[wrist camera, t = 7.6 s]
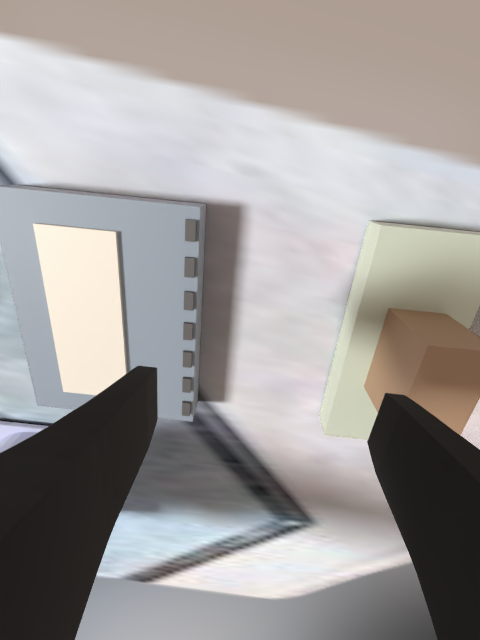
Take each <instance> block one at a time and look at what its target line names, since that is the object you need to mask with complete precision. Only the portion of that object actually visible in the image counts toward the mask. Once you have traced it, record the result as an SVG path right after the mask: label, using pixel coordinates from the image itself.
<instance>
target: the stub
mask: <svg viewBox="0 0 480 640" xmlns="http://www.w3.org/2000/svg"><path fill="white" fill-rule="evenodd" d="M479 307H480V232H474V231H464V230H454V229H444V228H434V227H425V226H415V225H405V224H395V223H385V222H375V221H368V225H367V229H366V233H365V237H364V240H363V244H362V248H361V252H360V256H359V260H358V264H357V268H356V272H355V276H354V280H353V284H352V288H351V292H350V295H349V299H348V303H347V307H346V311H345V315H344V319H343V323H342V327H341V331H340V335H339V339H338V343H337V347H336V351H335V354H334V358H333V362H332V366H331V370H330V374H329V378H328V382H327V386H326V390H325V394H324V398H323V402H322V406H321V409H320V413H319V418H320V421H321V425H322V429H323V432H324V435H327V436H337V437H347V438H356V439H366V440H368V438H369V436H370V433H371V430H372V428H373V425H374V422H375V419H376V417H377V414H378V411H379V409H380V406H381V403H382V400H383V398H384V395H385V393H391V394H400V395H405V396H407V397H409V398H410V399H412V400H413V401H415V402H416V403H417V404H419V405H420V406H422V407H423V408H424V409H426V410H427V411H428V412H430V413H431V414H432V415H434V416H435V417H436V418H438V419H439V420H440V421H442V422H443V423H444V424H446V425H447V426H448V427H450V428H451V429H452V430H454V431H455V432H456V433H458V434H459V435H461V433H462V431H463V429H464V427H465V425H466V423H467V421H468V419H469V417H470V415H471V414H472V412H473V410H474V408H475V406H476V404H477V402H478V400H479V398H480V337H479V336H477V335H476V334H475V333H473V332H472V331H470V330H469V329H470V327H471V324H472V322H473V320H474V318H475V316H476V313H477V311H478V309H479Z"/></svg>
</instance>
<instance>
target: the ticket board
mask: <svg viewBox="0 0 480 640" xmlns="http://www.w3.org/2000/svg"><path fill="white" fill-rule="evenodd" d="M205 225H206V204H201V203H191V202H181V201H171V200H162V199H152V198H142V197H132V196H122V195H112V194H102V193H93V192H83V191H73V190H63V189H53V188H43V187H33V186H23V185H0V244H1V248H2V253H3V257H4V262H5V266H6V270H7V275H8V279H9V283H10V288H11V292H12V297H13V301H14V305H15V310H16V314H17V318H18V323H19V327H20V332H21V336H22V340H23V345H24V349H25V353H26V358H27V362H28V367H29V371H30V375H31V380H32V384H33V388H34V393H35V397H36V402H37V406H46V407H55V408H65V409H77V408H78V407H80V406H82V405H83V404H85V403H86V402H88V401H89V400H91V399H92V398H93V397H95V396H96V395H98V394H99V393H101V392H102V391H103V390H105V389H106V388H108V387H109V386H110V385H112V384H113V383H114V382H116V381H117V380H119V379H120V378H121V377H123V376H124V375H125V374H127V373H128V372H129V371H131V370H132V369H134V368H135V367H137V366H147V367H156V368H157V403H158V418H162V419H172V420H182V421H191V422H193V418H194V414H195V410H196V406H197V402H198V385H199V362H200V339H201V316H202V293H203V271H204V248H205Z"/></svg>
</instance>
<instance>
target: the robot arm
mask: <svg viewBox="0 0 480 640" xmlns="http://www.w3.org/2000/svg"><path fill="white" fill-rule="evenodd" d="M157 419H158V403H157V368H156V367H147V366H137V367H135V368H134V369H132V370H131V371H129V372H128V373H127V374H125V375H124V376H123V377H121V378H120V379H119V380H117V381H116V382H114V383H113V384H112V385H110V386H109V387H108V388H106V389H105V390H103V391H102V392H101V393H99V394H98V395H96V396H95V397H93V398H92V399H91V400H89V401H88V402H86V403H85V404H83V405H82V406H80V407H78V408H77V409H75V410H74V411H72V412H71V413H69V414H68V415H66V416H64V417H63V418H61V419H60V420H58V421H57V422H55V423H54V424H52V425H50V426H44V425H34V424H24V423H15V422H5V421H0V640H75V637H76V634H77V631H78V628H79V624H80V622H81V619H82V615H83V612H84V610H85V607H86V603H87V601H88V597H89V595H90V592H91V589H92V586H93V583H94V579H95V577H96V574H97V571H98V568H99V565H100V563H101V560H102V557H103V554H104V551H105V548H106V545H107V542H108V540H109V537H110V535H111V532H112V530H113V527H114V525H115V522H116V520H117V518H118V516H119V513H120V511H121V509H122V507H123V504H124V502H125V500H126V498H127V495H128V493H129V491H130V489H131V487H132V484H133V482H134V480H135V478H136V475H137V473H138V471H139V469H140V466H141V464H142V462H143V460H144V457H145V455H146V453H147V450H148V448H149V445H150V442H151V439H152V436H153V432H154V429H155V426H156V422H157ZM367 442H368V446H369V450H370V454H371V458H372V461H373V465H374V468H375V472H376V475H377V477H378V480H379V482H380V485H381V487H382V489H383V492H384V494H385V497H386V499H387V502H388V504H389V506H390V509H391V511H392V513H393V516H394V518H395V521H396V523H397V525H398V528H399V530H400V532H401V535H402V537H403V540H404V542H405V544H406V547H407V549H408V551H409V554H410V557H411V559H412V562H413V564H414V567H415V570H416V572H417V575H418V578H419V581H420V584H421V588H422V591H423V594H424V597H425V600H426V603H427V606H428V609H429V612H430V616H431V619H432V622H433V625H434V629H435V632H436V635H437V639H438V640H480V450H479V449H478V448H476V447H475V446H474V445H472V444H471V443H470V442H468V441H467V440H466V439H464V438H463V437H462V436H460V435H459V434H458V433H456V432H455V431H454V430H452V429H451V428H450V427H448V426H447V425H446V424H444V423H443V422H442V421H440V420H439V419H438V418H436V417H435V416H434V415H432V414H431V413H430V412H428V411H427V410H426V409H424V408H423V407H422V406H420V405H419V404H417V403H416V402H415V401H413V400H412V399H410V398H409V397H407V396H405V395H400V394H391V393H385V395H384V398H383V400H382V403H381V406H380V409H379V411H378V414H377V417H376V419H375V422H374V425H373V428H372V430H371V433H370V436H369V438H368V441H367Z"/></svg>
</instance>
